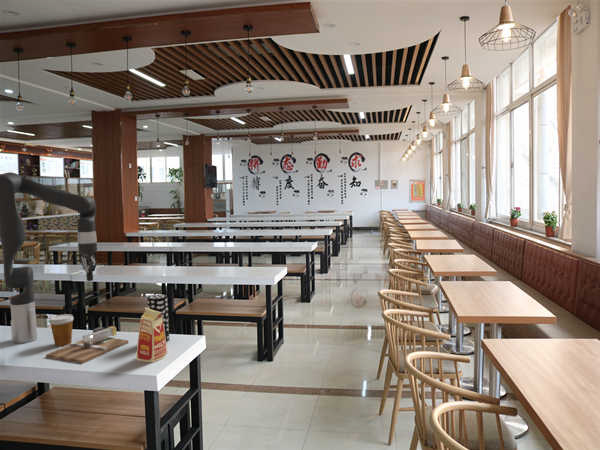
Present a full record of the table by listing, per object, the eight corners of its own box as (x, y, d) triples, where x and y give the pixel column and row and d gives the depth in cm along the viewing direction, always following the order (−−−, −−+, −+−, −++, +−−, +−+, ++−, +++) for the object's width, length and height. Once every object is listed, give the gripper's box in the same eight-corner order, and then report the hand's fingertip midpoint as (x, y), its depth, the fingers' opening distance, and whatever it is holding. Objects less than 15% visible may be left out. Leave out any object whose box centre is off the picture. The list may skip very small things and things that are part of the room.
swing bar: (87, 346, 185) (86, 337, 185) (80, 344, 187) (80, 336, 187) (117, 335, 198) (116, 327, 198) (111, 334, 200) (110, 326, 200)
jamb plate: (46, 357, 181) (45, 342, 180) (93, 338, 203) (92, 325, 202) (83, 363, 173) (82, 348, 173) (128, 342, 195) (127, 329, 195)
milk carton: (136, 360, 175) (133, 310, 173) (151, 352, 184) (149, 304, 182) (155, 363, 172) (152, 312, 170) (170, 354, 181) (167, 305, 179)
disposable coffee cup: (76, 344, 195) (75, 317, 194) (52, 349, 190) (50, 321, 189) (73, 338, 203) (71, 312, 202) (49, 343, 197) (47, 316, 196)
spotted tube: (163, 345, 192) (161, 299, 190) (145, 344, 193) (143, 298, 192) (172, 338, 200) (170, 294, 198) (155, 337, 201) (153, 294, 200)
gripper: (102, 241, 195) (104, 281, 196) (90, 239, 204) (92, 277, 205) (84, 243, 189) (87, 284, 191) (72, 241, 198) (75, 280, 200)
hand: (89, 280), depth 198 cm, fingers closed
